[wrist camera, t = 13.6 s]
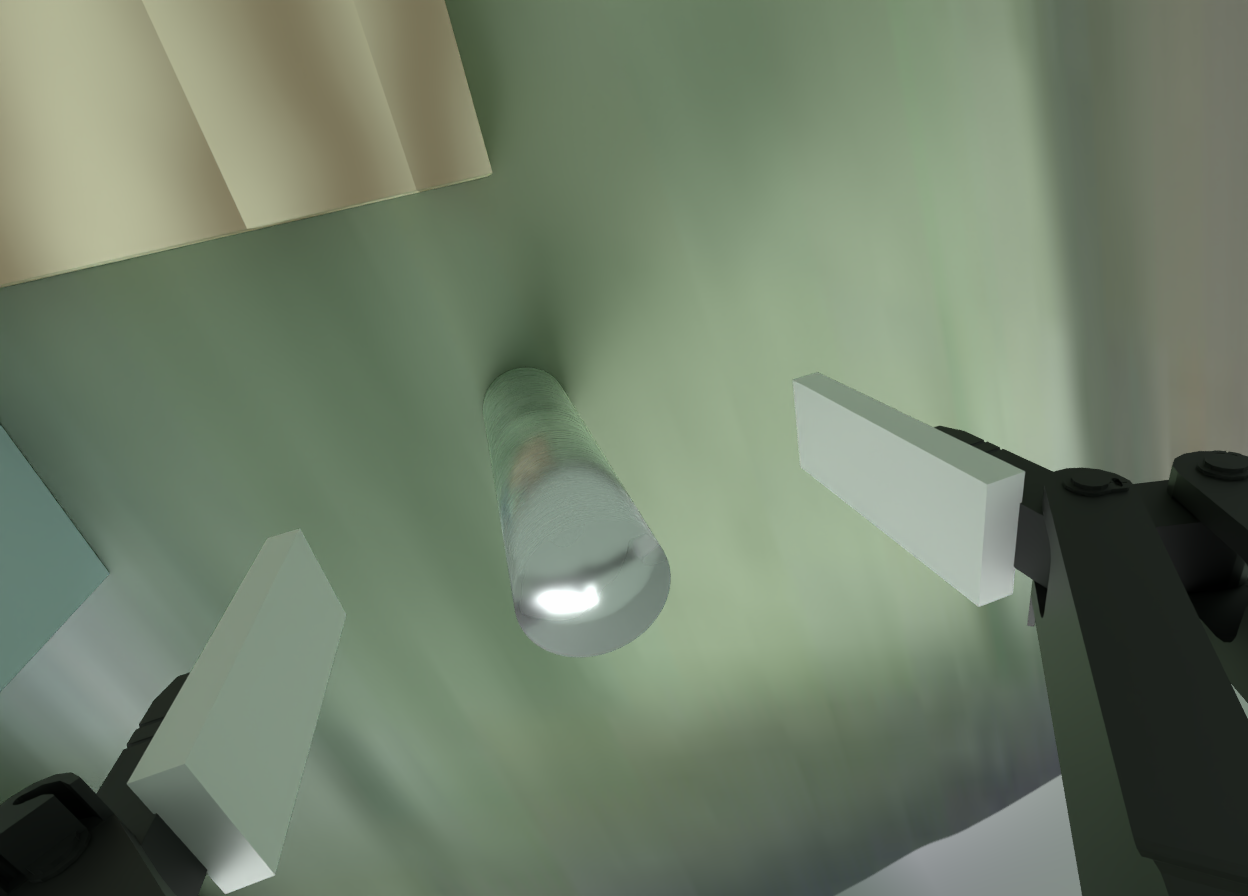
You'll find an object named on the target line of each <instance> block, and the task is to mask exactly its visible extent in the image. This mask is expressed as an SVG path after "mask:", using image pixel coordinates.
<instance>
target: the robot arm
mask: <svg viewBox="0 0 1248 896" xmlns="http://www.w3.org/2000/svg"><path fill="white" fill-rule="evenodd" d="M793 391H794V402H795V414H796V425H797V436H798V448H799V459H800V467H801V468H802V469H803V470H805V471H806V472H807V473H809V474H810V475H811V476H812V477H814V478H815V479H816V480H817V481H819V482H820V483H821V484H823V485H824V486H825V487H826V488H828V489H829V490H830V491H831V492H833V493H834V494H835V495H837V496H838V497H839V498H840V499H842V500H843V501H844V502H845V503H847V504H848V505H849V506H851V507H852V508H853V509H854V510H856V511H857V512H858V513H860V514H861V515H862V516H863V517H865V518H866V519H867V520H868V521H870V522H871V523H872V524H874V525H875V526H876V527H877V528H879V529H880V530H881V531H882V532H884V533H885V534H886V535H888V536H889V537H890V538H891V539H893V540H894V541H895V542H897V543H898V544H899V545H900V546H902V547H903V548H904V549H905V550H907V551H908V552H909V553H911V554H912V555H913V556H914V557H916V558H917V559H918V560H919V561H921V562H922V563H923V564H925V565H926V566H927V567H928V568H930V569H931V570H932V571H934V572H935V573H936V574H937V575H939V576H940V577H941V578H942V579H944V580H945V581H946V582H948V583H949V584H950V585H951V586H953V587H954V588H955V589H956V590H958V591H959V592H960V593H962V594H963V595H964V596H965V597H967V598H968V599H969V600H970V601H972V602H973V603H974V604H976V605H977V606H978V607H980V606H982V605H985V604H988V603H990V602H993V601H996V600H998V599H1001V598H1003V597H1006V596H1009V595H1011V594H1013V585H1014V576H1015V568H1016V569H1018V570H1019V571H1021V572H1022V573H1024V574H1025V575H1027V576H1028V577H1030V578H1031V579H1033V581H1032V590H1031V598H1030V606H1029V615H1028V623H1027V625H1028V626H1034V625H1035V622H1036V628H1037V634H1038V640H1039V646H1040V651H1041V657H1042V663H1043V669H1044V675H1045V681H1046V686H1047V692H1048V698H1049V704H1050V710H1051V716H1052V722H1053V727H1054V733H1055V739H1056V745H1057V751H1058V757H1059V763H1060V768H1061V774H1062V780H1063V786H1064V791H1065V798H1066V803H1067V809H1068V815H1069V821H1070V826H1071V833H1072V838H1073V844H1074V850H1075V856H1076V861H1077V867H1078V874H1079V880H1080V885H1081V891H1082V896H1248V718H1247V716H1246V714H1245V712H1244V710H1243V708H1242V706H1241V704H1240V702H1239V700H1238V698H1237V696H1236V694H1235V691H1234V689H1233V687H1232V685H1233V686H1234V687H1235V689H1236V690H1237V691H1238V692H1239V693H1240V695H1241V696H1242V697H1243V698H1244V699H1245V700H1246V702H1247V703H1248V456H1244V455H1242V454H1239V453H1234V452H1228V453H1227V452H1226V451H1198V452H1192V453H1186V454H1183V455H1181V456H1179V457H1177V458H1175V459H1174V462H1173V465H1172V469H1171V473H1170V478H1169V480H1164V481H1155V482H1147V483H1138V484H1132V483H1131V482H1130V481H1129V480H1127V479H1125V478H1123V477H1121V476H1119V475H1117V474H1115V473H1111V472H1107V471H1103V470H1099V469H1090V468H1066V469H1062V470H1059V471H1055V472H1053V471H1050V470H1048V469H1046V468H1044V467H1042V466H1039V465H1037V464H1035V463H1033V462H1031V461H1028V460H1026V459H1024V458H1022V457H1020V456H1018V455H1015V454H1013V453H1011V452H1009V451H1007V450H1004V449H1002V450H1000V447H998V446H996V445H994V444H991V443H989V442H984V440H983V439H980V438H978V437H976V436H974V435H972V434H969V433H967V432H965V431H962V430H957V429H952V428H947V427H943V426H937V427H934V428H933V427H931V426H929V425H927V424H925V423H923V422H921V421H919V420H917V419H915V418H913V417H911V416H908V415H906V414H904V413H902V412H900V411H898V410H896V409H894V408H892V407H890V406H888V405H886V404H883V403H881V402H879V401H877V400H875V399H873V398H871V397H869V396H867V395H865V394H863V393H861V392H858V391H856V390H854V389H852V388H850V387H848V386H846V385H844V384H842V383H840V382H838V381H836V380H833V379H831V378H829V377H827V376H825V375H823V374H821V373H819V372H816V373H813V374H809V375H806V376H803V377H799V378H796V379H793ZM345 618H346V613H345V611H344V609H343V607H342V605H341V604H340V602H339V600H338V598H337V596H336V594H335V592H334V590H333V589H332V587H331V585H330V583H329V581H328V579H327V577H326V576H325V574H324V572H323V570H322V568H321V566H320V564H319V563H318V561H317V559H316V557H315V555H314V553H313V551H312V550H311V548H310V546H309V544H308V542H307V540H306V538H305V537H304V535H303V533H302V531H301V529H300V528H299V529H295V530H292V531H289V532H285V533H282V534H279V535H275V536H272V537H269V538H267V539H266V541H265V543H264V544H263V546H262V548H261V550H260V551H259V553H258V555H257V557H256V558H255V560H254V562H253V564H252V565H251V567H250V569H249V571H248V572H247V574H246V576H245V578H244V579H243V581H242V583H241V585H240V586H239V588H238V590H237V592H236V593H235V595H234V597H233V599H232V600H231V602H230V604H229V606H228V607H227V609H226V611H225V613H224V614H223V616H222V618H221V620H220V621H219V623H218V625H217V627H216V628H215V630H214V632H213V634H212V635H211V637H210V639H209V641H208V642H207V644H206V646H205V648H204V649H203V651H202V653H201V655H200V656H199V658H198V660H197V662H196V663H195V665H194V667H193V669H192V670H191V672H190V673H187V674H184V675H181V676H178V677H177V678H176V679H175V680H174V681H173V682H172V683H171V684H170V685H169V686H168V687H167V688H166V689H165V690H164V691H163V692H162V693H161V694H160V695H159V696H158V697H157V698H156V699H155V700H154V701H153V703H152V704H151V706H150V707H149V709H148V711H147V712H146V714H145V716H144V717H143V719H142V720H141V722H140V724H139V726H140V728H139V729H136V730H135V732H134V734H133V735H132V737H131V738H130V740H129V742H128V743H127V749H124V750H123V751H122V753H121V755H120V756H119V758H118V760H117V761H116V763H115V765H114V766H113V768H112V769H111V771H110V773H109V774H108V776H107V778H106V779H105V781H104V783H103V784H102V786H101V787H100V789H99V791H98V792H97V794H95V792H94V791H93V790H92V789H91V788H90V787H89V786H88V785H87V784H86V783H85V782H84V781H83V780H82V779H81V778H80V777H79V776H77V775H75V774H73V773H63V774H56V775H53V776H51V777H48V778H46V779H43V780H41V781H38V782H36V783H34V784H32V785H30V786H29V787H27V788H25V789H24V790H22V791H20V792H19V793H17V794H15V795H13V796H12V797H10V798H9V799H8V800H6V801H5V802H4V803H3V804H1V805H0V896H198V894H199V891H200V889H201V886H202V883H203V881H204V878H205V876H206V873H207V874H208V875H209V877H210V878H211V879H212V880H213V881H214V882H215V883H216V884H217V885H218V887H219V888H220V889H221V890H222V891H223V892H224V893H225V894H227V893H230V892H232V891H235V890H238V889H240V888H243V887H246V886H248V885H251V884H253V883H256V882H259V881H261V880H264V879H267V878H269V877H272V876H274V875H275V874H276V870H277V866H278V863H279V859H280V856H281V852H282V848H283V845H284V841H285V837H286V834H287V830H288V826H289V823H290V819H291V815H292V812H293V808H294V804H295V801H296V797H297V794H298V790H299V786H300V783H301V779H302V775H303V772H304V768H305V764H306V761H307V757H308V753H309V750H310V746H311V742H312V739H313V735H314V731H315V728H316V724H317V721H318V717H319V713H320V710H321V706H322V702H323V699H324V695H325V691H326V688H327V684H328V680H329V677H330V673H331V669H332V666H333V662H334V659H335V655H336V651H337V648H338V644H339V640H340V637H341V633H342V629H343V626H344V622H345ZM1231 684H1232V685H1231Z"/></svg>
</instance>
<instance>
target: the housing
mask: <svg viewBox="0 0 1248 896" xmlns="http://www.w3.org/2000/svg"><path fill="white" fill-rule="evenodd" d="M109 574H110V573H109V572H108V571H107V569H106V568H105V567H104V565H103V564H102V563H101V561H100V560H99V558H98V557H97V556H96V554H95V553H94V552H93V550H92V549H91V548H90V546H89V545H88V543H87V542H86V541H85V539H84V538H83V537H82V535H81V534H80V533H79V531H78V530H77V528H76V527H75V526H74V524H73V523H72V522H71V520H70V519H69V518H68V516H67V515H66V513H65V512H64V511H63V509H62V508H61V507H60V505H59V504H58V502H57V501H56V500H55V498H54V497H53V496H52V494H51V493H50V492H49V490H48V489H47V487H46V486H45V485H44V483H43V482H42V481H41V479H40V478H39V477H38V475H37V474H36V472H35V471H34V470H33V468H32V467H31V466H30V464H29V463H28V462H27V460H26V459H25V457H24V456H23V455H22V453H21V452H20V451H19V449H18V448H17V446H16V445H15V444H14V442H13V441H12V440H11V438H10V437H9V436H8V434H7V433H6V431H5V430H4V429H3V427H2V426H1V425H0V692H1V691H2V690H3V689H4V687H5V686H6V685H7V684H8V683H9V682H10V681H11V680H12V679H13V678H14V677H15V676H16V675H17V673H18V672H19V671H20V670H21V669H22V668H23V667H24V666H25V665H26V664H27V663H28V662H29V660H30V659H31V658H32V657H33V656H34V655H35V654H36V653H37V652H38V651H39V650H40V649H41V647H42V646H43V645H44V644H45V643H46V642H47V641H48V640H49V639H50V638H51V637H52V636H53V634H54V633H55V632H56V631H57V630H58V629H59V628H60V627H61V626H62V625H63V624H64V623H65V621H66V620H67V619H68V618H69V617H70V616H71V615H72V614H73V613H74V612H75V611H76V610H77V608H78V607H79V606H80V605H81V604H82V603H83V602H84V601H85V600H86V599H87V598H88V597H89V596H90V594H91V593H92V592H93V591H94V590H95V589H96V588H97V587H98V586H99V585H100V584H101V583H102V581H103V580H104V579H105V578H106V577H107V576H108V575H109Z"/></svg>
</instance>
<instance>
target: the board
mask: <svg viewBox="0 0 1248 896" xmlns="http://www.w3.org/2000/svg"><path fill="white" fill-rule="evenodd" d="M492 173H493V172H492V169H491V165H490V162H489V158H488V154H487V151H486V147H485V144H484V140H483V137H482V133H481V129H480V126H479V122H478V119H477V115H476V111H475V108H474V104H473V101H472V97H471V93H470V90H469V86H468V83H467V79H466V75H465V72H464V68H463V65H462V61H461V58H460V54H459V50H458V47H457V43H456V40H455V36H454V32H453V29H452V25H451V22H450V18H449V14H448V11H447V7H446V4H445V0H0V288H3V287H7V286H11V285H16V284H20V283H25V282H29V281H33V280H38V279H42V278H46V277H51V276H55V275H60V274H64V273H68V272H73V271H77V270H81V269H86V268H90V267H95V266H99V265H103V264H108V263H112V262H117V261H121V260H125V259H130V258H134V257H138V256H143V255H147V254H152V253H156V252H160V251H165V250H169V249H174V248H178V247H182V246H187V245H191V244H195V243H200V242H204V241H209V240H213V239H217V238H222V237H226V236H231V235H235V234H239V233H244V232H248V231H252V230H257V229H261V228H266V227H270V226H274V225H279V224H283V223H287V222H292V221H296V220H301V219H305V218H309V217H314V216H318V215H323V214H327V213H331V212H336V211H340V210H344V209H349V208H353V207H358V206H362V205H366V204H371V203H375V202H380V201H384V200H388V199H393V198H397V197H401V196H406V195H410V194H415V193H419V192H423V191H428V190H432V189H437V188H441V187H445V186H450V185H454V184H458V183H463V182H467V181H472V180H476V179H480V178H485V177H488V176H489V175H491V174H492Z"/></svg>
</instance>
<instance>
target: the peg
mask: <svg viewBox="0 0 1248 896" xmlns="http://www.w3.org/2000/svg"><path fill="white" fill-rule="evenodd" d="M483 415H484V421H485V428H486V434H487V440H488V446H489V453H490V459H491V465H492V471H493V478H494V484H495V490H496V496H497V502H498V509H499V515H500V521H501V527H502V534H503V540H504V546H505V552H506V559H507V565H508V571H509V577H510V583H511V590H512V596H513V602H514V608H515V613H516V617H517V620H518V622H519V624H520V626H521V628H522V630H523V631H524V633H525V634H526V635H527V636H528V637H529V638H530V639H531V640H532V641H533V642H534V643H535V644H537V645H538V646H539V647H541V648H543V649H545V650H547V651H549V652H552V653H554V654H558V655H562V656H568V657H590V656H596V655H601V654H605V653H608V652H611V651H614V650H616V649H619V648H621V647H623V646H625V645H626V644H628V643H630V642H632V641H633V640H634V639H636V638H637V637H639V636H640V635H641V634H642V633H643V632H645V631H646V630H647V629H648V628H649V627H650V626H651V624H652V623H653V622H654V621H655V619H656V618H657V617H658V615H659V614H660V612H661V610H662V609H663V607H664V604H665V602H666V600H667V597H668V593H669V589H670V577H671V574H670V567H669V563H668V560H667V557H666V555H665V553H664V551H663V549H662V548H661V546H660V545H659V543H658V541H657V540H656V538H655V537H654V535H653V533H652V532H651V530H650V528H649V527H648V525H647V524H646V522H645V520H644V519H643V517H642V516H641V514H640V512H639V511H638V509H637V507H636V506H635V504H634V503H633V501H632V499H631V498H630V496H629V495H628V493H627V491H626V490H625V488H624V486H623V485H622V483H621V482H620V480H619V478H618V477H617V475H616V474H615V472H614V470H613V469H612V467H611V465H610V464H609V462H608V461H607V459H606V457H605V456H604V454H603V453H602V451H601V449H600V448H599V446H598V444H597V443H596V441H595V440H594V438H593V436H592V435H591V433H590V432H589V430H588V428H587V427H586V425H585V423H584V422H583V420H582V419H581V417H580V415H579V414H578V412H577V411H576V409H575V407H574V406H573V404H572V402H571V401H570V399H569V398H568V396H567V394H566V393H565V391H564V390H563V388H562V386H561V385H560V383H559V382H558V381H557V380H556V379H555V378H554V377H553V376H551V375H550V374H548V373H547V372H545V371H543V370H540V369H537V368H531V367H522V368H516V369H512V370H509V371H507V372H505V373H503V374H502V375H500V376H499V377H498V378H497V379H495V380H494V381H493V383H492V384H491V385H490V387H489V388H488V390H487V392H486V394H485V397H484V402H483Z"/></svg>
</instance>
